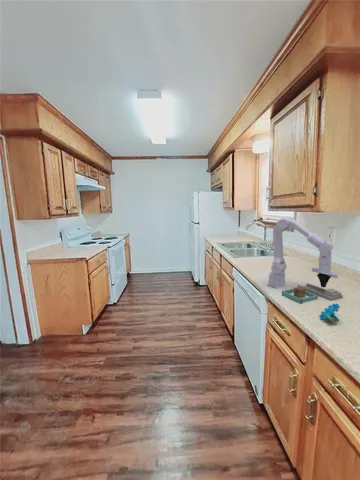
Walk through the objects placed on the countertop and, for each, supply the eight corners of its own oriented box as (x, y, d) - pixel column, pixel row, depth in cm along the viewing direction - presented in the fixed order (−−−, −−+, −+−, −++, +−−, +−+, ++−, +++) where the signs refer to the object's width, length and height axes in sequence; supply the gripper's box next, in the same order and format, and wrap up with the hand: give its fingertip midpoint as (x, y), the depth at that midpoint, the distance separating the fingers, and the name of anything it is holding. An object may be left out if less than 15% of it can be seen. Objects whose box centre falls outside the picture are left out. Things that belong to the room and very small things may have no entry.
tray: (281, 295, 136) (281, 291, 136) (297, 291, 140) (297, 287, 140) (301, 304, 124) (301, 299, 123) (317, 300, 128) (317, 295, 127)
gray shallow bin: (296, 288, 146) (296, 283, 145) (308, 286, 149) (308, 280, 148) (330, 302, 125) (330, 295, 124) (343, 298, 128) (344, 292, 127)
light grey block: (324, 296, 131) (324, 290, 130) (331, 294, 132) (331, 288, 132) (330, 298, 127) (331, 292, 126) (337, 297, 129) (338, 290, 128)
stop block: (293, 296, 133) (294, 287, 133) (299, 294, 135) (299, 286, 134) (299, 298, 130) (299, 289, 129) (305, 297, 131) (305, 288, 130)
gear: (319, 309, 114) (337, 299, 108) (329, 318, 112) (348, 309, 106) (316, 321, 105) (336, 311, 99) (327, 332, 104) (348, 322, 98)
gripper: (342, 265, 126) (340, 289, 128) (318, 259, 139) (317, 281, 141) (333, 267, 123) (331, 292, 126) (309, 261, 137) (308, 283, 139)
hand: (323, 286), depth 133 cm, fingers closed
